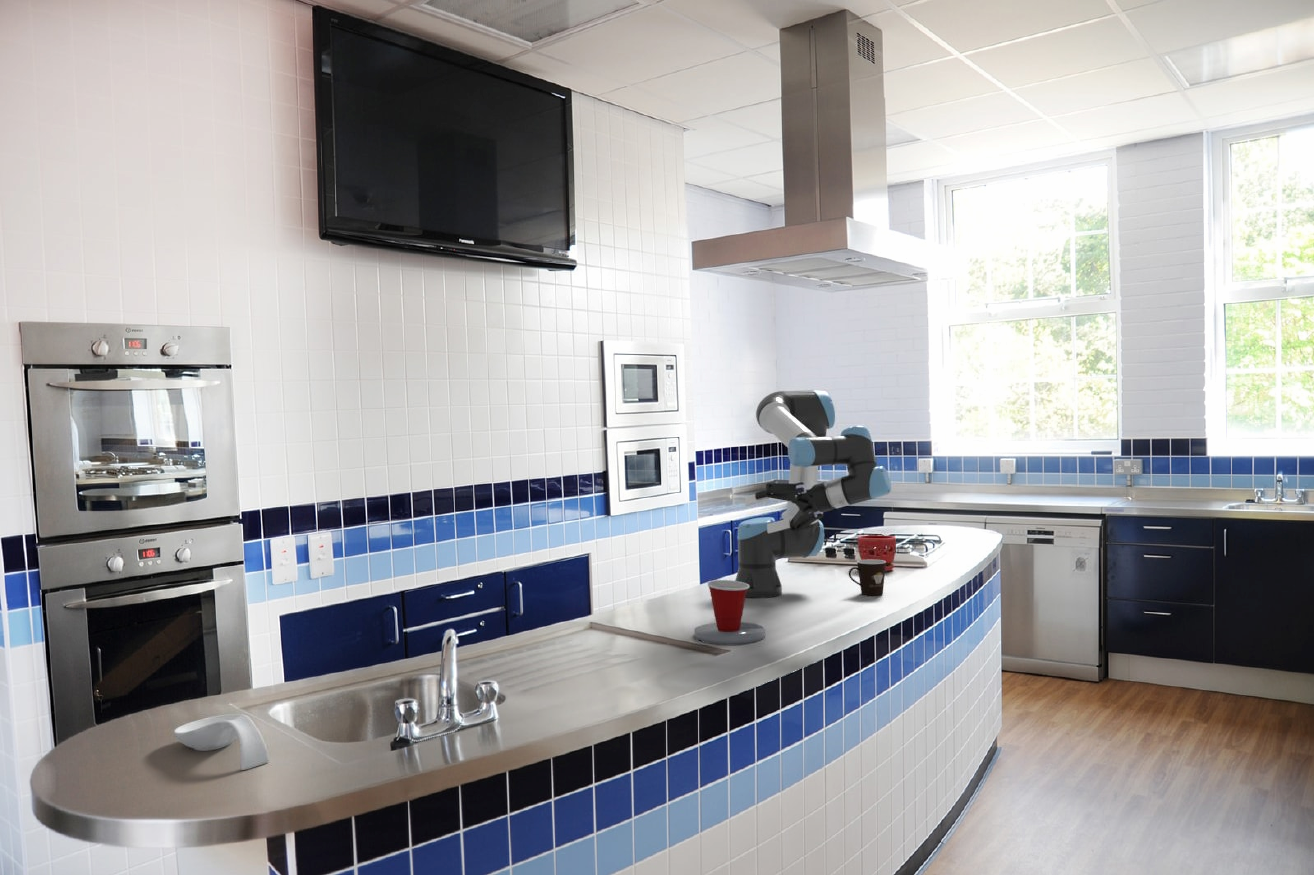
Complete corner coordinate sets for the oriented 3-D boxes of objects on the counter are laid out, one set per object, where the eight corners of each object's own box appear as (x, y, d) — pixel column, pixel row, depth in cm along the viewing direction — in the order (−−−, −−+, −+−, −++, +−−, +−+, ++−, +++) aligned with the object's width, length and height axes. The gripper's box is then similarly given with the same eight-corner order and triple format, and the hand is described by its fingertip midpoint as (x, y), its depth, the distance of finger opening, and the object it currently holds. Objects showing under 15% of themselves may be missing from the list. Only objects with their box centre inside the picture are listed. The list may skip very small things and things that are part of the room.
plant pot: (903, 571, 313) (903, 537, 313) (870, 574, 309) (869, 539, 309) (884, 565, 325) (883, 532, 325) (851, 568, 322) (851, 535, 322)
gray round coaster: (685, 631, 234) (684, 625, 234) (748, 624, 239) (748, 619, 239) (708, 647, 217) (708, 641, 217) (776, 640, 222) (776, 634, 222)
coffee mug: (884, 591, 279) (883, 559, 279) (888, 596, 271) (887, 563, 271) (846, 591, 281) (845, 559, 280) (849, 597, 272) (848, 564, 272)
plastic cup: (747, 635, 222) (746, 587, 222) (704, 634, 225) (703, 586, 224) (753, 625, 233) (752, 579, 232) (712, 624, 235) (711, 578, 235)
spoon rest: (163, 747, 160) (161, 707, 159) (230, 728, 169) (228, 691, 168) (222, 779, 144) (220, 735, 144) (292, 757, 153) (290, 716, 153)
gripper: (812, 479, 224) (736, 501, 233) (849, 532, 239) (776, 550, 248) (811, 456, 229) (736, 478, 238) (847, 509, 244) (776, 528, 253)
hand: (756, 515), depth 243 cm, fingers open, 13 cm apart
